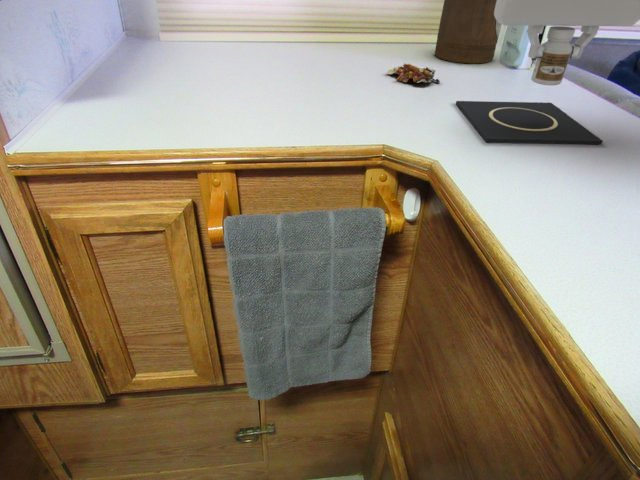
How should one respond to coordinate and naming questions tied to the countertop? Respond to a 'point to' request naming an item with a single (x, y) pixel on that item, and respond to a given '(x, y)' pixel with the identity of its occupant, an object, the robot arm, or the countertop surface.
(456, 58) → the wooden container
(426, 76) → the reddish brown crumpled piece
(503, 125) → the mat
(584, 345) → the countertop surface
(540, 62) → the pill bottle
